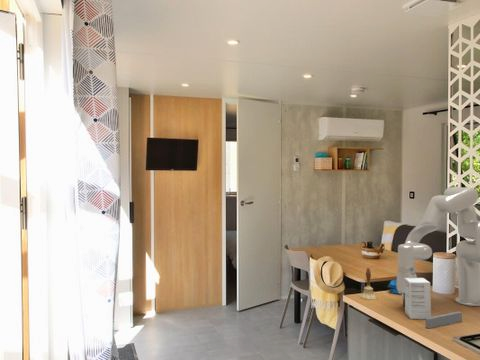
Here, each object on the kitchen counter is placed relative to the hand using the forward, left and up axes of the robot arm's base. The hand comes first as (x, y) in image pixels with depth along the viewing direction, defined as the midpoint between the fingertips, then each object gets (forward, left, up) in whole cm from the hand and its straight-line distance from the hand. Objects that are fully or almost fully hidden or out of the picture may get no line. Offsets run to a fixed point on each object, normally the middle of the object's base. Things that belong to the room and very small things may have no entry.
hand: (407, 307), depth 194 cm
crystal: (-17, -23, -2) cm, 29 cm away
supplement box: (+2, +8, -2) cm, 8 cm away
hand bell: (+3, -24, -2) cm, 24 cm away
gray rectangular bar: (0, +21, -1) cm, 21 cm away
